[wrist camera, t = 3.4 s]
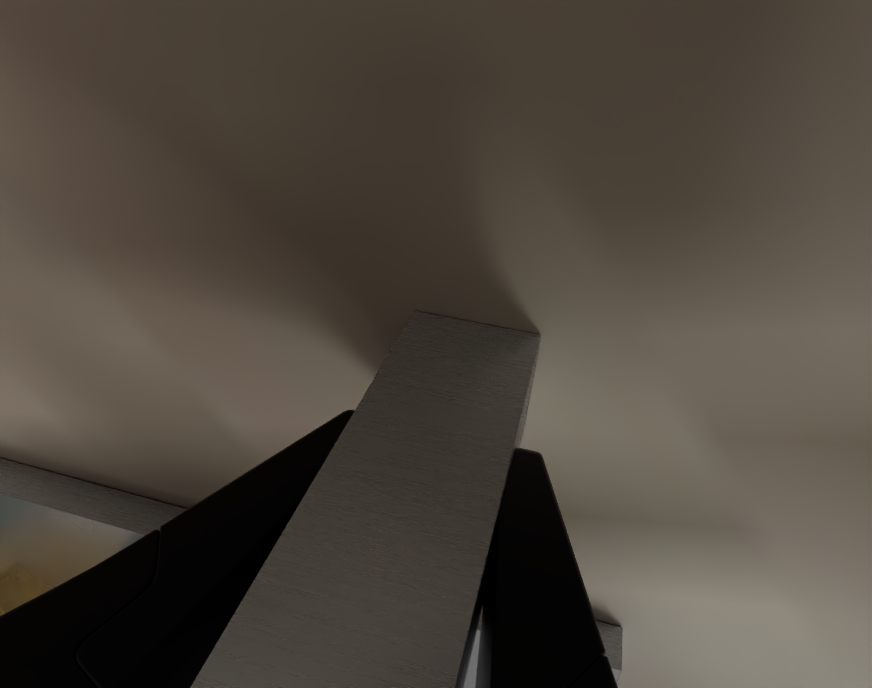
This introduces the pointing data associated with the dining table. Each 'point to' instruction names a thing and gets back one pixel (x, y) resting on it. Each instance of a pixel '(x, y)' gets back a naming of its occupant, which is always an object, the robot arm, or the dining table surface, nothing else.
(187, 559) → the robot arm
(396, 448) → the gray square beam
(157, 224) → the dining table surface
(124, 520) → the square socket plate
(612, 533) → the dining table surface
